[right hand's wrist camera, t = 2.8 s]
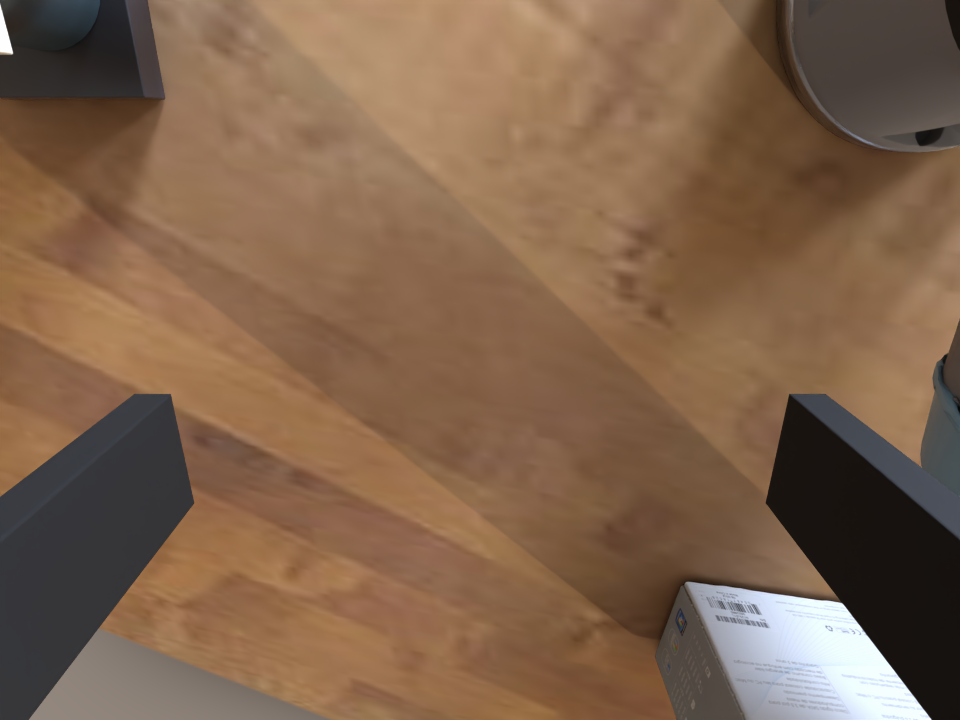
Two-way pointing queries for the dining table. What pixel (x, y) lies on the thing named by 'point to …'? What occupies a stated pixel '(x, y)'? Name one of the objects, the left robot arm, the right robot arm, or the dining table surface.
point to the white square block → (4, 37)
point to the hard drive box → (774, 660)
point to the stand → (79, 51)
